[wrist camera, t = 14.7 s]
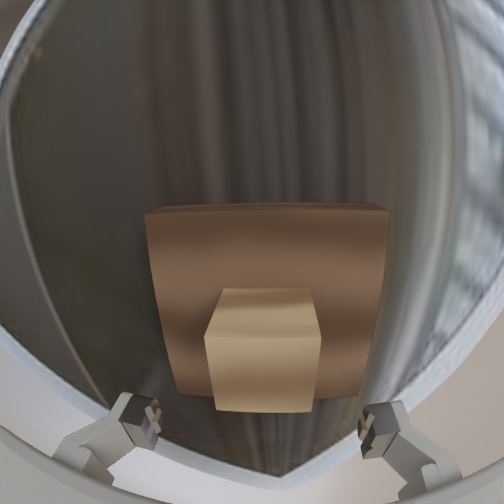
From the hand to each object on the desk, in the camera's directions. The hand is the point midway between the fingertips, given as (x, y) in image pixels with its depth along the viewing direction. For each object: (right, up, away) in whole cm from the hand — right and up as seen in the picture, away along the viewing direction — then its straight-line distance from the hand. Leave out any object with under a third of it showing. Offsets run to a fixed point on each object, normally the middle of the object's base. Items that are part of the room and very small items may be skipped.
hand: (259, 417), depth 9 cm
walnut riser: (+1, +3, +10) cm, 11 cm away
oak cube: (+1, +2, +8) cm, 8 cm away
